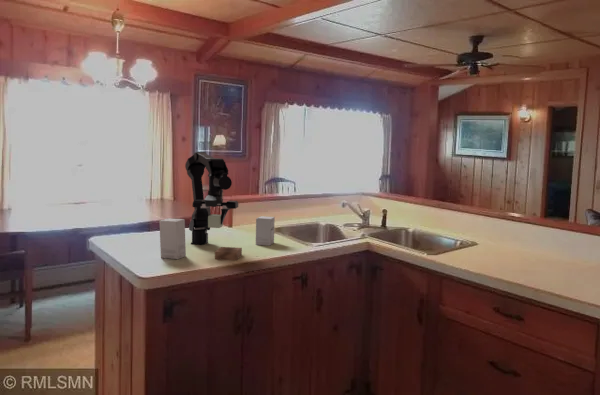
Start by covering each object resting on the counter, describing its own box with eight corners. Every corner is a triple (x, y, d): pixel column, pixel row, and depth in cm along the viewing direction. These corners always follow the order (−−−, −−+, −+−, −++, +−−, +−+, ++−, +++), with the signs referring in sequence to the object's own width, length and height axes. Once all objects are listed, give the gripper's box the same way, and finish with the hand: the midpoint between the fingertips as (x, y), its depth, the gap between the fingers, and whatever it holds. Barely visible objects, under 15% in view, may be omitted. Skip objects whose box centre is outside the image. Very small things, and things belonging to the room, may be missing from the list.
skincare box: (186, 256, 191) (186, 219, 189) (176, 260, 185) (176, 221, 183) (168, 254, 194) (168, 217, 192) (159, 257, 187) (158, 219, 186)
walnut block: (214, 260, 188) (214, 251, 187) (220, 254, 197) (220, 246, 196) (236, 261, 187) (236, 252, 187) (241, 255, 196) (241, 247, 195)
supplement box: (270, 245, 215) (271, 219, 214) (255, 244, 217) (255, 218, 215) (274, 242, 222) (275, 216, 221) (259, 241, 224) (260, 215, 222)
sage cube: (208, 227, 197) (208, 215, 196) (211, 225, 202) (211, 214, 201) (219, 228, 196) (219, 216, 196) (222, 226, 201) (222, 214, 201)
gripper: (188, 188, 190) (188, 226, 192) (232, 190, 188) (232, 228, 190) (196, 186, 201) (196, 222, 203) (238, 187, 199) (238, 223, 201)
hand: (215, 223), depth 199 cm, fingers closed on sage cube, 5 cm apart
